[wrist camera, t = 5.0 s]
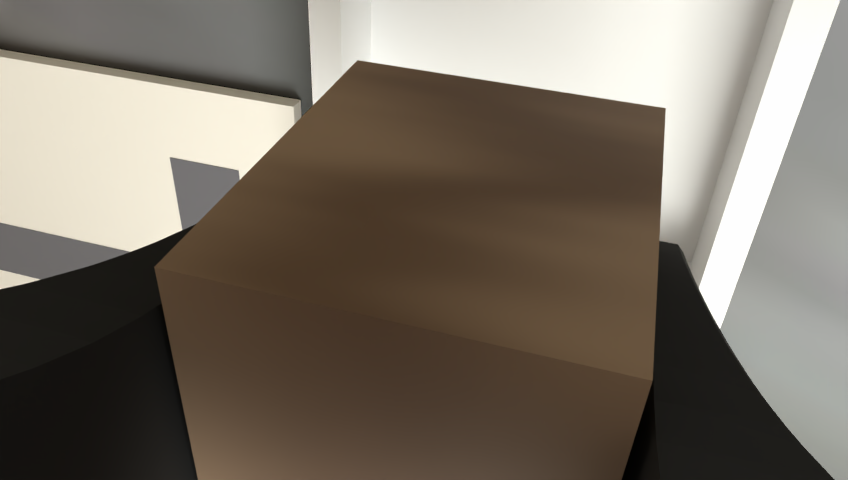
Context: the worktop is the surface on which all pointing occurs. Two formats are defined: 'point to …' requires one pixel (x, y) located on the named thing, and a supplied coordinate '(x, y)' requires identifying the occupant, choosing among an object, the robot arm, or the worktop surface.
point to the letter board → (115, 159)
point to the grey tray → (625, 86)
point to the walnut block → (425, 288)
